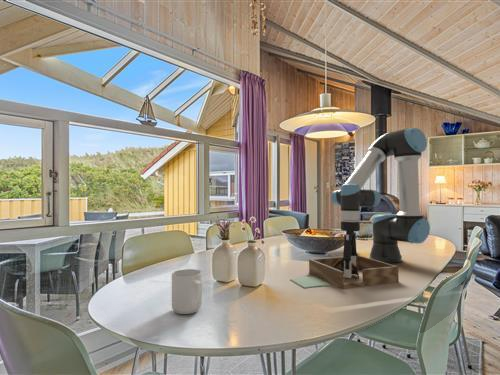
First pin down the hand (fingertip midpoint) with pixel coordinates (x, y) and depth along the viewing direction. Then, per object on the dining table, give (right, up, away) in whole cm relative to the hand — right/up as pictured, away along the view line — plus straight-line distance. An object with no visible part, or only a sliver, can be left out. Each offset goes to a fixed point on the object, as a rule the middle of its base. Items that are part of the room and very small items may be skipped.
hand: (350, 274), depth 129 cm
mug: (-59, -1, -35) cm, 69 cm away
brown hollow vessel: (0, -2, +2) cm, 3 cm away
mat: (-18, -1, -6) cm, 19 cm away
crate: (+1, -1, +1) cm, 2 cm away
